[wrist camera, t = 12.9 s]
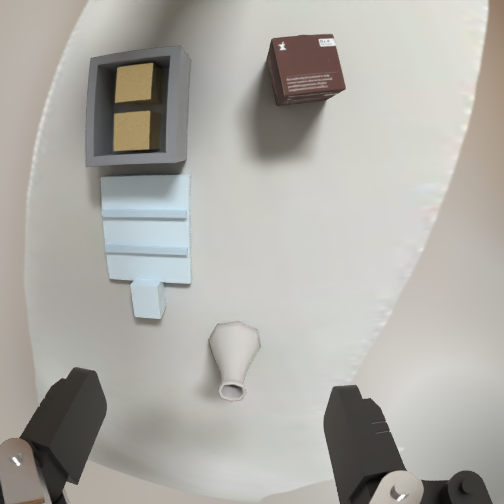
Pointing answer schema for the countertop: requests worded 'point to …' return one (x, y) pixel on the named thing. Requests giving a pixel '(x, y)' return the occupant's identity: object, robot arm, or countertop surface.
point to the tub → (138, 107)
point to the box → (304, 68)
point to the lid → (148, 235)
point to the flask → (234, 356)
